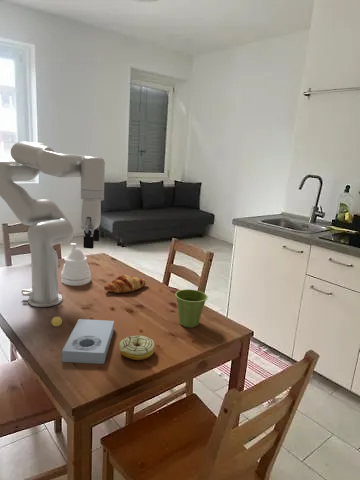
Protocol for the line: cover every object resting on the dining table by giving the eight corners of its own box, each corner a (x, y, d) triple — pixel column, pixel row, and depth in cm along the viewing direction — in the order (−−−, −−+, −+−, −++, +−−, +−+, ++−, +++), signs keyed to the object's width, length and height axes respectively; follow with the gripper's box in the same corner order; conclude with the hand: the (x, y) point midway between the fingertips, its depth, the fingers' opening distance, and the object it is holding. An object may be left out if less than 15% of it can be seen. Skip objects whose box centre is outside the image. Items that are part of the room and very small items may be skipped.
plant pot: (210, 328, 129) (213, 299, 126) (181, 333, 124) (184, 303, 121) (195, 314, 139) (197, 287, 136) (167, 318, 134) (169, 290, 131)
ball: (53, 313, 121) (49, 320, 122) (54, 320, 119) (50, 328, 120) (63, 315, 123) (59, 322, 124) (63, 322, 120) (60, 329, 122)
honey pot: (55, 282, 160) (54, 244, 156) (77, 275, 170) (78, 239, 166) (73, 290, 153) (74, 250, 149) (96, 282, 164) (97, 245, 159)
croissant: (143, 291, 166) (139, 274, 167) (154, 286, 158) (150, 269, 160) (101, 298, 152) (98, 280, 154) (111, 293, 145) (107, 275, 146)
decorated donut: (123, 341, 114) (124, 330, 113) (155, 345, 114) (157, 335, 113) (115, 359, 104) (116, 347, 103) (151, 364, 104) (152, 352, 103)
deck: (78, 328, 122) (78, 319, 121) (113, 330, 122) (114, 320, 121) (62, 361, 102) (61, 351, 101) (103, 363, 103) (104, 353, 102)
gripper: (86, 191, 126) (86, 237, 130) (74, 197, 109) (74, 250, 113) (108, 192, 126) (106, 239, 130) (98, 198, 109) (97, 252, 113)
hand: (91, 244), depth 122 cm, fingers open, 9 cm apart
